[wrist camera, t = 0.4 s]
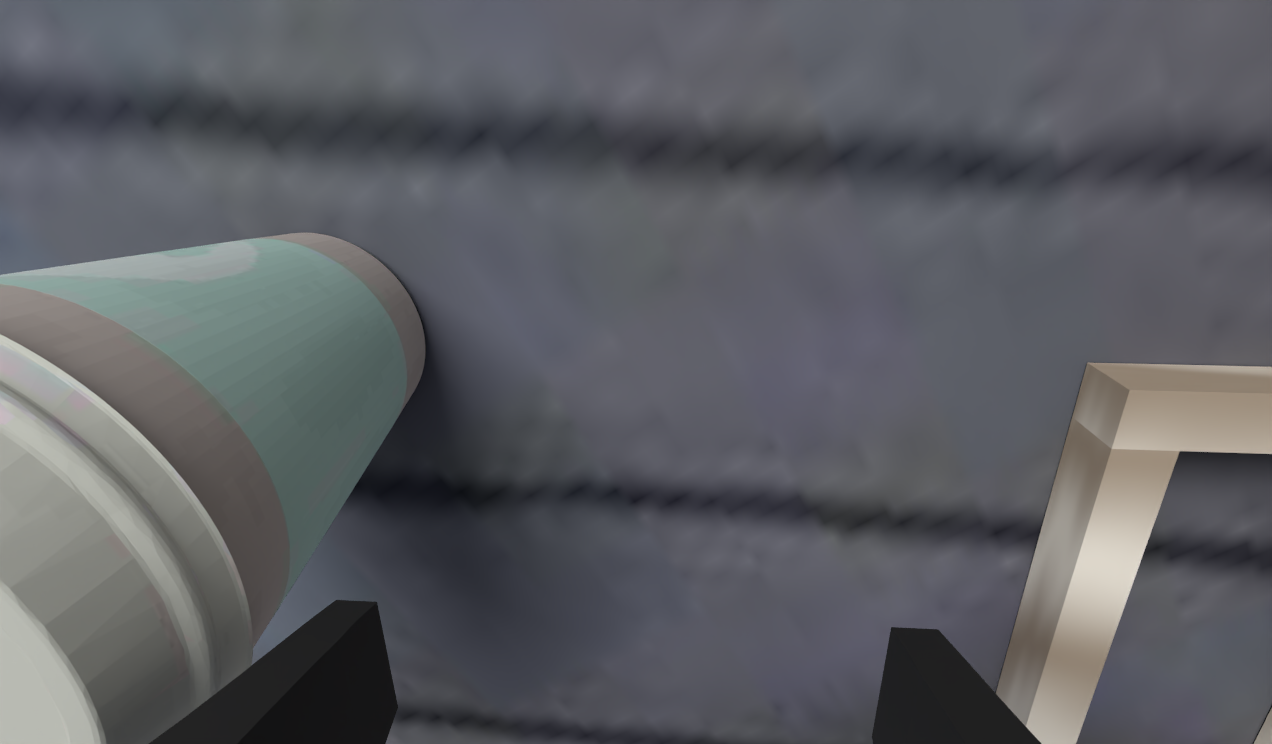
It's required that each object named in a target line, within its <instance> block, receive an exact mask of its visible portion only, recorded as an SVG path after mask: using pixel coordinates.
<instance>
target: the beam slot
mask: <svg viewBox="0 0 1272 744" xmlns="http://www.w3.org/2000/svg"><path fill="white" fill-rule="evenodd" d="M1180 451H1193V452H1224V453H1256V454H1272V367H1256V366H1211V365H1166V364H1122V363H1087V366H1086V369H1085V373H1084V376H1083V380H1082V384H1081V387H1080V391H1079V395H1078V398H1077V402H1076V405H1075V409H1074V413H1073V416H1072V420H1071V423H1070V427H1069V431H1068V434H1067V438H1066V441H1065V445H1064V449H1063V452H1062V456H1061V459H1060V463H1059V467H1058V470H1057V474H1056V478H1055V481H1054V485H1053V488H1052V492H1051V496H1050V499H1049V503H1048V506H1047V510H1046V514H1045V517H1044V521H1043V524H1042V528H1041V532H1040V535H1039V539H1038V543H1037V546H1036V550H1035V553H1034V557H1033V561H1032V564H1031V568H1030V571H1029V575H1028V579H1027V582H1026V586H1025V589H1024V593H1023V597H1022V600H1021V604H1020V607H1019V611H1018V615H1017V618H1016V622H1015V626H1014V629H1013V633H1012V636H1011V640H1010V644H1009V647H1008V651H1007V654H1006V658H1005V662H1004V665H1003V669H1002V672H1001V676H1000V680H999V683H998V687H997V690H996V694H997V695H998V697H999V698H1000V699H1001V700H1002V701H1003V702H1004V703H1005V704H1006V705H1007V706H1008V708H1009V709H1010V710H1011V711H1012V712H1013V713H1014V714H1015V715H1016V716H1017V717H1018V719H1019V720H1020V721H1021V722H1022V723H1023V724H1024V725H1025V726H1026V727H1027V728H1028V729H1029V731H1030V732H1031V733H1032V734H1033V735H1034V736H1035V737H1036V738H1037V739H1038V740H1039V741H1040V742H1041V743H1042V744H1076V742H1077V739H1078V736H1079V734H1080V731H1081V728H1082V725H1083V722H1084V720H1085V717H1086V714H1087V711H1088V708H1089V705H1090V703H1091V700H1092V697H1093V694H1094V691H1095V689H1096V686H1097V683H1098V680H1099V677H1100V674H1101V672H1102V669H1103V666H1104V663H1105V660H1106V658H1107V655H1108V652H1109V649H1110V646H1111V643H1112V641H1113V638H1114V635H1115V632H1116V629H1117V627H1118V624H1119V621H1120V618H1121V615H1122V612H1123V610H1124V607H1125V604H1126V601H1127V598H1128V596H1129V593H1130V590H1131V587H1132V584H1133V581H1134V579H1135V576H1136V573H1137V570H1138V567H1139V565H1140V562H1141V559H1142V556H1143V553H1144V550H1145V548H1146V545H1147V542H1148V539H1149V536H1150V533H1151V531H1152V528H1153V525H1154V522H1155V519H1156V517H1157V514H1158V511H1159V508H1160V505H1161V502H1162V500H1163V497H1164V494H1165V491H1166V488H1167V486H1168V483H1169V480H1170V477H1171V474H1172V471H1173V469H1174V466H1175V463H1176V460H1177V457H1178V455H1179V452H1180ZM1254 744H1272V708H1271V710H1270V712H1269V714H1268V716H1267V718H1266V720H1265V722H1264V724H1263V726H1262V728H1261V730H1260V732H1259V734H1258V736H1257V738H1256V740H1255V742H1254Z"/></svg>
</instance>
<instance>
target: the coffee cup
mask: <svg viewBox="0 0 1272 744" xmlns="http://www.w3.org/2000/svg"><path fill="white" fill-rule="evenodd" d="M424 362H425V337H424V331H423V327H422V323H421V320H420V317H419V314H418V312H417V309H416V307H415V305H414V303H413V301H412V299H411V298H410V296H409V294H408V293H407V291H406V290H405V288H404V287H403V286H402V284H401V283H400V282H399V280H398V279H397V278H396V277H395V276H394V275H393V274H392V272H391V271H390V270H389V269H387V268H386V267H385V266H384V265H383V264H382V263H381V262H380V261H378V260H377V259H376V258H374V257H373V256H372V255H370V254H369V253H367V252H366V251H364V250H362V249H361V248H359V247H357V246H355V245H353V244H351V243H349V242H346V241H344V240H341V239H338V238H335V237H331V236H327V235H323V234H316V233H292V234H285V235H277V236H270V237H262V238H255V239H246V240H239V241H233V242H226V243H219V244H212V245H205V246H198V247H191V248H184V249H177V250H170V251H163V252H156V253H149V254H143V255H136V256H129V257H122V258H115V259H108V260H101V261H94V262H87V263H80V264H73V265H66V266H59V267H53V268H46V269H39V270H32V271H25V272H18V273H11V274H4V275H0V744H149V743H150V742H151V741H153V740H154V739H156V738H157V737H158V736H160V735H161V734H163V733H164V732H165V731H167V730H168V729H169V728H171V727H172V726H174V725H175V724H176V723H178V722H179V721H180V720H182V719H183V718H184V717H186V716H187V715H188V714H190V713H191V712H192V711H194V710H195V709H196V708H197V707H199V706H200V705H201V704H203V703H204V702H205V701H207V700H208V699H209V698H210V697H212V696H213V695H214V694H216V693H217V692H218V691H219V690H221V689H222V688H223V687H225V686H226V685H227V684H229V683H230V682H231V681H232V680H234V679H235V678H236V677H238V676H239V675H240V674H241V673H243V672H244V671H245V670H247V669H248V668H249V667H251V663H252V654H253V647H254V646H255V644H256V643H257V641H258V640H259V638H260V636H261V635H262V633H263V632H264V630H265V629H266V627H267V625H268V624H269V622H270V621H271V619H272V618H273V616H274V615H275V613H276V611H277V610H278V608H279V607H280V605H281V603H282V602H283V600H284V599H285V597H286V596H287V594H288V592H289V591H290V589H291V588H292V586H293V584H294V583H295V581H296V580H297V578H298V576H299V575H300V573H301V572H302V570H303V568H304V567H305V565H306V564H307V562H308V560H309V559H310V557H311V556H312V554H313V552H314V551H315V549H316V548H317V546H318V544H319V543H320V541H321V540H322V538H323V537H324V535H325V533H326V532H327V530H328V529H329V527H330V525H331V524H332V522H333V521H334V519H335V517H336V516H337V514H338V513H339V511H340V509H341V508H342V506H343V505H344V503H345V501H346V500H347V498H348V497H349V495H350V493H351V492H352V490H353V489H354V487H355V485H356V484H357V482H358V481H359V479H360V478H361V476H362V474H363V473H364V471H365V470H366V468H367V466H368V465H369V463H370V462H371V460H372V458H373V457H374V455H375V454H376V452H377V450H378V449H379V447H380V446H381V444H382V442H383V441H384V439H385V438H386V436H387V434H388V433H389V431H390V430H391V428H392V426H393V425H394V423H395V422H396V420H397V418H398V417H399V415H400V413H401V412H402V410H403V408H404V407H405V405H406V404H407V402H408V400H409V399H410V397H411V395H412V394H413V392H414V391H415V389H416V387H417V385H418V383H419V381H420V378H421V375H422V372H423V368H424Z"/></svg>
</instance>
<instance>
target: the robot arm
mask: <svg viewBox="0 0 1272 744" xmlns="http://www.w3.org/2000/svg"><path fill="white" fill-rule="evenodd" d="M397 708H398V705H397V700H396V695H395V690H394V685H393V680H392V675H391V670H390V665H389V660H388V655H387V650H386V645H385V640H384V635H383V630H382V625H381V620H380V615H379V610H378V605H377V602H365V601H345V600H336V601H334V602H333V603H332V604H330V605H329V606H328V607H326V608H325V609H324V610H322V611H321V612H320V613H318V614H317V615H316V616H314V617H313V618H312V619H310V620H309V621H308V622H306V623H305V624H304V625H303V626H301V627H300V628H299V629H298V630H296V631H295V632H294V633H292V634H291V635H290V636H289V637H287V638H286V639H285V640H284V641H282V642H281V643H280V644H278V645H277V646H276V647H275V648H273V649H272V650H271V651H270V652H268V653H267V654H266V655H264V656H263V657H262V658H261V659H259V660H258V661H257V662H256V663H254V664H253V665H252V666H251V667H249V668H248V669H247V670H245V671H244V672H243V673H241V674H240V675H239V676H238V677H236V678H235V679H234V680H232V681H231V682H230V683H229V684H227V685H226V686H225V687H223V688H222V689H221V690H219V691H218V692H217V693H216V694H214V695H213V696H212V697H210V698H209V699H208V700H207V701H205V702H204V703H203V704H201V705H200V706H199V707H197V708H196V709H195V710H194V711H192V712H191V713H190V714H188V715H187V716H186V717H184V718H183V719H182V720H180V721H179V722H178V723H176V724H175V725H174V726H172V727H171V728H169V729H168V730H167V731H165V732H164V733H163V734H161V735H160V736H158V737H157V738H156V739H154V740H153V741H151V742H150V743H149V744H385V743H386V740H387V737H388V734H389V731H390V729H391V726H392V723H393V720H394V717H395V714H396V711H397ZM872 739H873V744H1042V743H1041V742H1040V741H1039V740H1038V739H1037V738H1036V737H1035V736H1034V735H1033V734H1032V733H1031V732H1030V731H1029V729H1028V728H1027V727H1026V726H1025V725H1024V724H1023V723H1022V722H1021V721H1020V720H1019V719H1018V717H1017V716H1016V715H1015V714H1014V713H1013V712H1012V711H1011V710H1010V709H1009V708H1008V706H1007V705H1006V704H1005V703H1004V702H1003V701H1002V700H1001V699H1000V698H999V697H998V695H997V694H996V693H995V692H994V691H993V690H992V689H991V688H990V687H989V685H988V684H987V683H986V682H985V681H984V680H983V679H982V678H981V677H980V675H979V674H978V673H977V672H976V671H975V670H974V669H973V668H972V667H971V665H970V664H969V663H968V662H967V661H966V660H965V659H964V658H963V656H962V655H961V654H960V653H959V652H958V651H957V650H956V649H955V648H954V647H953V645H952V644H951V643H950V642H949V641H948V640H947V639H946V638H945V637H944V636H943V635H942V633H941V632H940V631H939V630H936V629H915V628H895V627H891V632H890V638H889V643H888V649H887V655H886V660H885V666H884V672H883V677H882V683H881V689H880V694H879V700H878V706H877V711H876V717H875V723H874V728H873V734H872Z"/></svg>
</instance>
